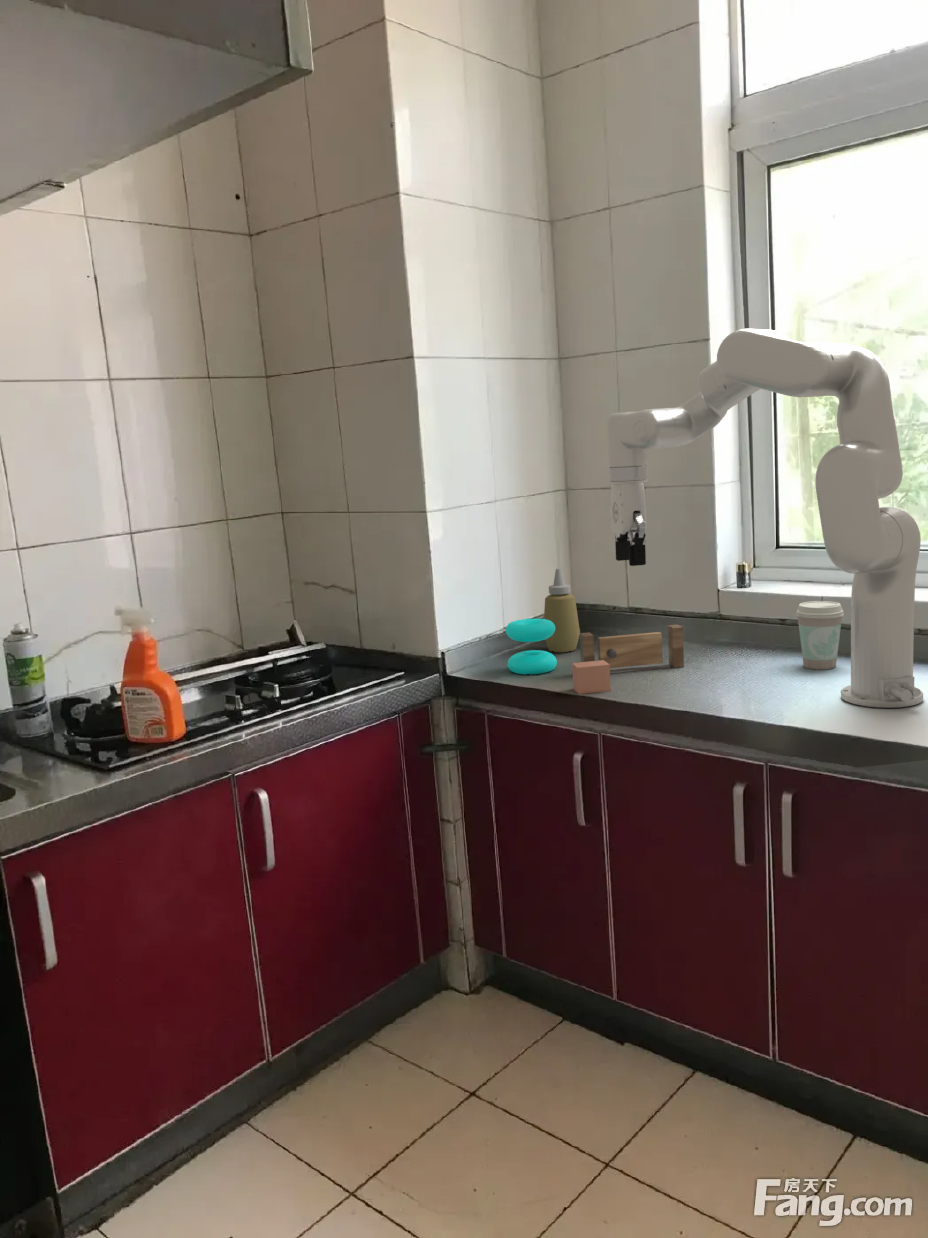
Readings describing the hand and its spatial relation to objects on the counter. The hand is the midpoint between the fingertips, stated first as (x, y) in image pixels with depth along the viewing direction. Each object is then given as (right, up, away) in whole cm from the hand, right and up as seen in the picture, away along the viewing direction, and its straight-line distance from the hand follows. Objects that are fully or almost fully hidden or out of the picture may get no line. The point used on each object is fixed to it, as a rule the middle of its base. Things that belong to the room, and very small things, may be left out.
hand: (630, 562), depth 200 cm
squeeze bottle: (-12, -18, +19) cm, 29 cm away
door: (0, -21, -4) cm, 21 cm away
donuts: (-20, -22, +2) cm, 30 cm away
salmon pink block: (-10, -25, -17) cm, 31 cm away
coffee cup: (+34, -21, -10) cm, 41 cm away
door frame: (-1, -22, -4) cm, 22 cm away
